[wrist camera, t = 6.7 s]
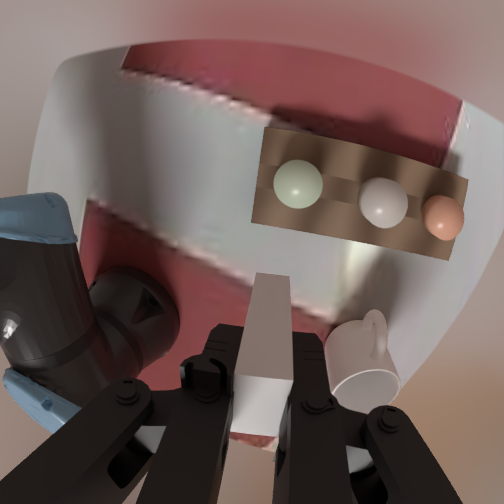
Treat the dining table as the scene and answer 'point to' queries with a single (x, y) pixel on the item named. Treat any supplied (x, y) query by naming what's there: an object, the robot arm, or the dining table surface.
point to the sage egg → (298, 184)
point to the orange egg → (443, 217)
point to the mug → (361, 364)
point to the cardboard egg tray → (352, 191)
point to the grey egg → (382, 202)
